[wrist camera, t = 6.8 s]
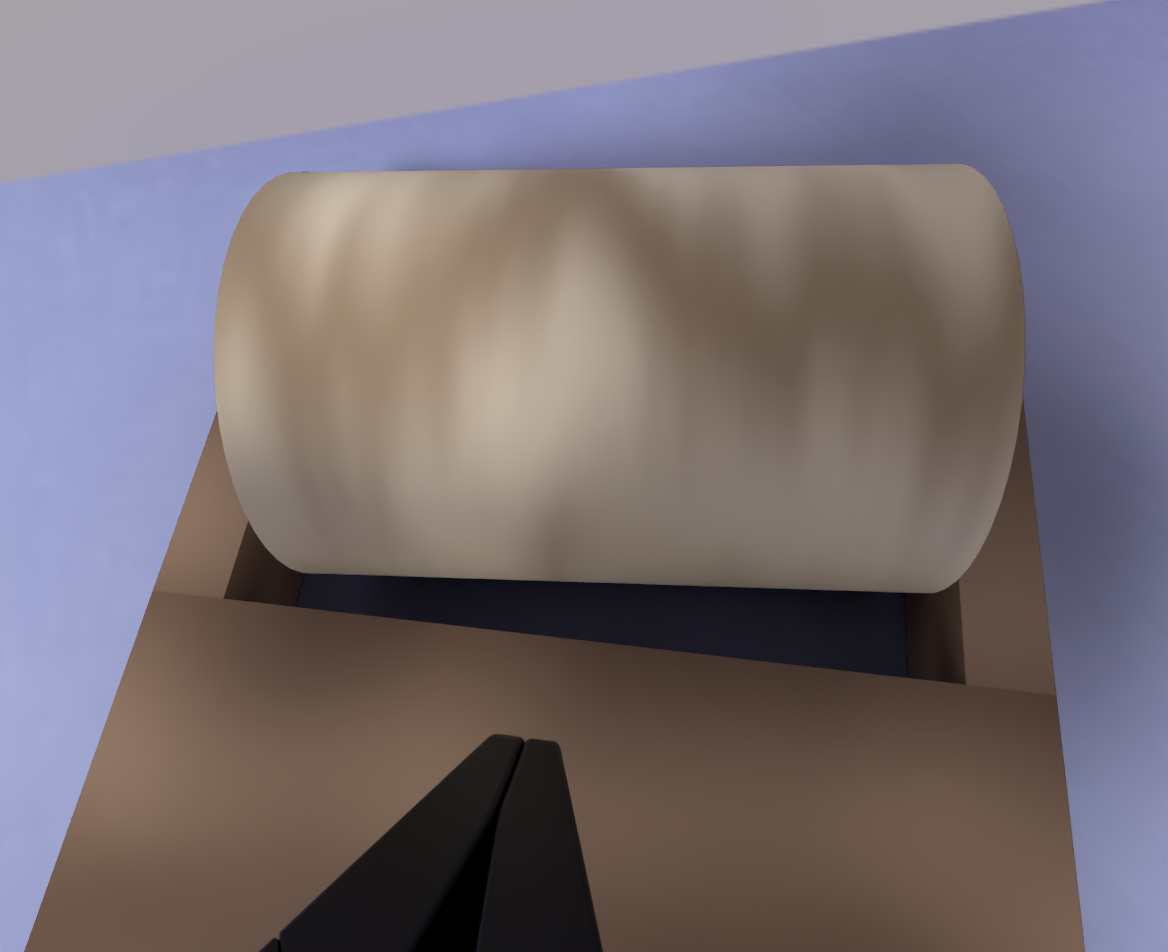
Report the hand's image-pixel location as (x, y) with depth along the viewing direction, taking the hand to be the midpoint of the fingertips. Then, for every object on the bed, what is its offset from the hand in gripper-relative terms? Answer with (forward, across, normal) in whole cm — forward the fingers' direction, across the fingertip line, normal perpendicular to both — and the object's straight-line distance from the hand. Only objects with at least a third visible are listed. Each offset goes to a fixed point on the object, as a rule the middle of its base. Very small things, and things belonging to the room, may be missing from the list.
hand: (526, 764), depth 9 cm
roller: (+8, 0, -3) cm, 8 cm away
